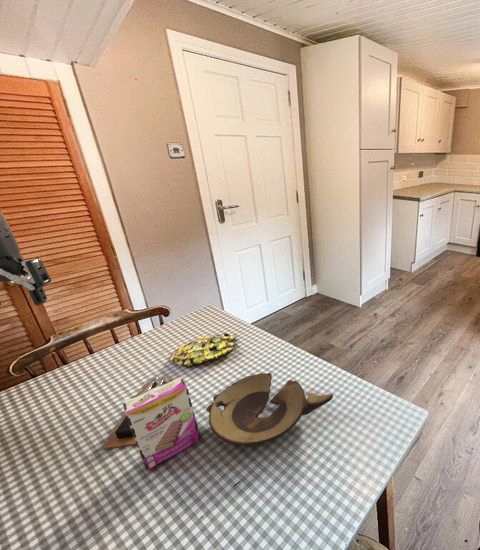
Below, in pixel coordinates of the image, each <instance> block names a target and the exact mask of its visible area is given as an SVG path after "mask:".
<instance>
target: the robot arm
mask: <svg viewBox="0 0 480 550" xmlns="http://www.w3.org/2000/svg"><path fill="white" fill-rule="evenodd" d="M20 251H21V248H20V247H19V244H18V243H17V240H16V238H15V236H14V233H13V231H12V229H11V226H10V225H9V223H8V220H7V218H6V217H5V215H4V214H3V213H2V211H1V210H0V282H6V283H8V282H13V283H15V284H16V285H21V286H22V287H24V288H26V289H28V293H29V296H30V298H31V301H32V302H33V304H34V306H42V305H43V304H45V303H46V302H47V300H48V297H47V294H46V292H45V290H44V286H47V285H48V284H51V283H52V278H51V276H50V275H49V272H48V271H47V269H46V267H45V264H44V263H43V261H42V259H41V258H40V257H34V258H31V259H23V257H22V256H21V255H20ZM0 306H2V302H1V301H0Z"/></svg>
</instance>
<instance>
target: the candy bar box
mask: <svg viewBox="0 0 480 550" xmlns="http://www.w3.org/2000/svg"><path fill="white" fill-rule="evenodd" d="M174 379H175V380H172V381H170V382H168V383H165V384H163V385H161V386H158V387H156V388H153V389H151V390H149V391H146V392H144V393H142V394H140V393H139V394H137V395H134V396H132V397H130V398H127V399H125V400H123V401H121V403H122V407H123V411H124V415H125V414H126V417H127V420H128V422H129V425H130V428H131V430H132V433H133V436H134V439H135V441H136V444H135V445H136V446H137V450H138V451H139V454H140V457H141V460H142V462H143V465H144V468H145V470H146V471H147V472H148V471H150V470H152V469H154V468H156V467H157V466H159V465H161V464H162V463H164V462H166V461H167V460H169V459H171V458H173V457H175V456H176V455H178V454H180V453H181V452H183V451H185V450H187V449H189V448H190V447H192V446H194V445H195V444H197V443H199V442H201V441H202V437H201V434H200V429H199V425H198V422H197V418H196V414H195V411H194V407H193V403H192V400H191V396H190V392H189V388H188V386H187V384H186V382H185V380H184V379H183V377H182V376H179V377H177V379H176V378H174Z"/></svg>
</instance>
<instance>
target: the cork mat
mask: <svg viewBox="0 0 480 550" xmlns="http://www.w3.org/2000/svg"><path fill="white" fill-rule="evenodd" d="M177 378H178V377H177ZM177 378H169V380H170V381H172V380H175V379H177ZM170 381H169V382H170ZM148 382H149V381H147V382H146V383H145V385H144V386H143V387H142V389H141V391H140V392H139V394H142V393H143V392H144V391H145V389H146V388H147V386H148V385H149V384H148ZM125 417H126V414H125V413H124V415H123V417H122V418H121V420H120V421H119V423H118V424H117V426H116V427H115V429H114V430H113V432H112V433H111V435H110V436H109V437H108V439H107V440H106V442H105V443H104V445H103V447H102V450H107V449H108V450H109V449H115V448H121V447H129V446H135V445H137V444H136V441H135V439H134V437H128V438H121V439H118V438H117V436H116V434H115V432H116V430H117V429H118V427H119V426H120V424H121V423H122V421H123V420H124V418H125Z"/></svg>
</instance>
